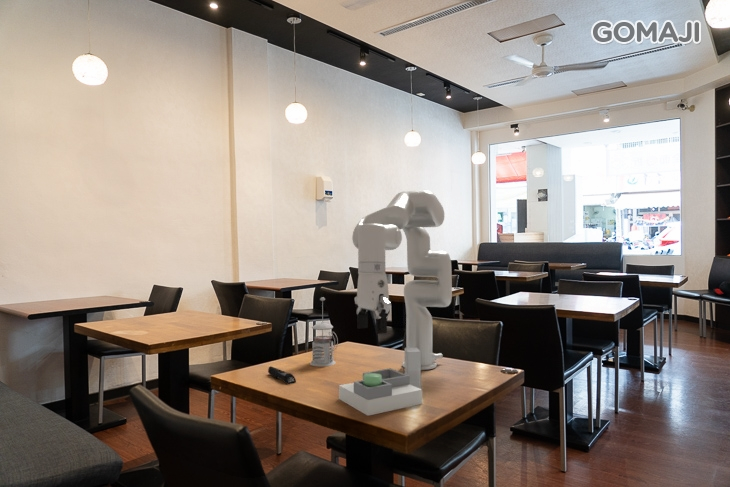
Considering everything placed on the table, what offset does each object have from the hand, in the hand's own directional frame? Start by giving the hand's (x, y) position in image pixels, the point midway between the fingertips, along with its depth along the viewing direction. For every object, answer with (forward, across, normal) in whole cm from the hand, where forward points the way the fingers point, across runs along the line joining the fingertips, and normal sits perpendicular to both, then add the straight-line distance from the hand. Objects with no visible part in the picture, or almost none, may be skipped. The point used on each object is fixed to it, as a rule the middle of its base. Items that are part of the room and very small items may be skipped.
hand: (371, 330), depth 134 cm
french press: (+21, +52, -11) cm, 57 cm away
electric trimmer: (+22, +41, +11) cm, 47 cm away
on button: (+15, -1, 0) cm, 15 cm away
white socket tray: (+21, +4, -5) cm, 22 cm away
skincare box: (+21, +10, -21) cm, 31 cm away
